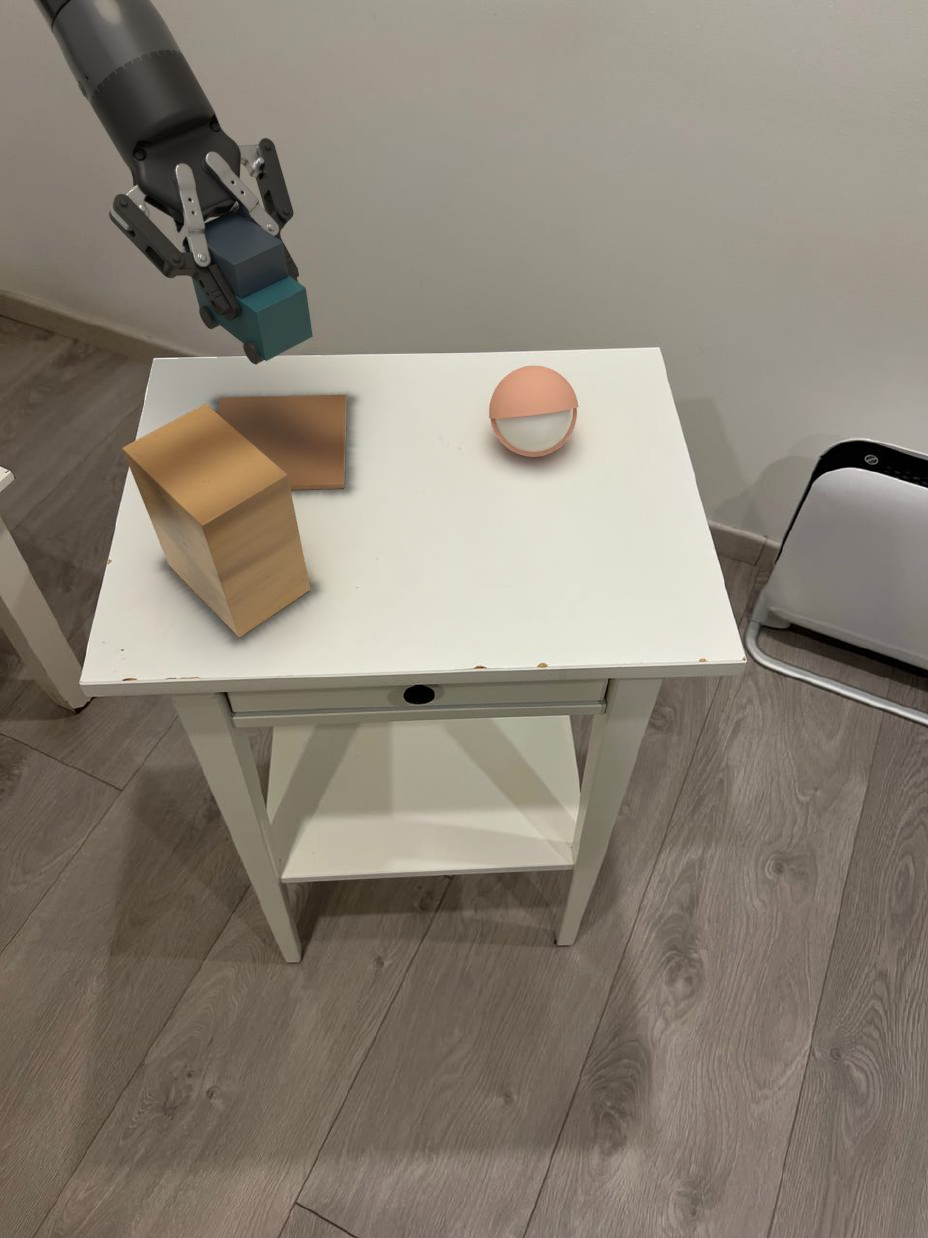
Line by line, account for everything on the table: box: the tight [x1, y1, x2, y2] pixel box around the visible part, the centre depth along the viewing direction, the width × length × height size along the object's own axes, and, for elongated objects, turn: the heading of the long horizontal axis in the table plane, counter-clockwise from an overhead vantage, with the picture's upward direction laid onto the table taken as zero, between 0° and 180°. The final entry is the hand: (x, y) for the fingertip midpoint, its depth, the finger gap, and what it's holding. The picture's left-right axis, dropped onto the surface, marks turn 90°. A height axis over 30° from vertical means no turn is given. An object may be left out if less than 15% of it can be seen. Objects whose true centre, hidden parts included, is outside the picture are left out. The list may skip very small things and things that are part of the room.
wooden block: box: [122, 403, 311, 638], centre depth 66 cm, size 10×7×13 cm
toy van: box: [191, 210, 314, 365], centre depth 67 cm, size 9×5×8 cm, turn 44°
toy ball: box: [488, 365, 579, 458], centre depth 78 cm, size 8×8×8 cm
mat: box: [217, 394, 348, 491], centre depth 80 cm, size 12×12×1 cm
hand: (263, 301), depth 67 cm, fingers closed on toy van, 4 cm apart
